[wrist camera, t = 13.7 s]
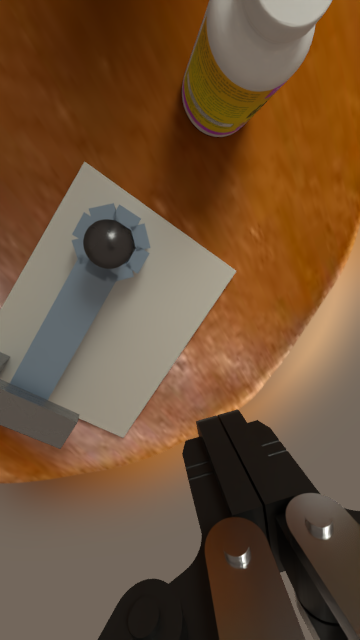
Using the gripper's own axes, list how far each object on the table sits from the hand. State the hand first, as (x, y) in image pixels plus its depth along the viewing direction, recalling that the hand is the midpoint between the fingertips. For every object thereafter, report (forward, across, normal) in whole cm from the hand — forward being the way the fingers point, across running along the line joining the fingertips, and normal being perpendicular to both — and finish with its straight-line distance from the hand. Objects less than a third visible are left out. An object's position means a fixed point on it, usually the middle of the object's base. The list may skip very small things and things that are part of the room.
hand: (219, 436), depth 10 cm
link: (+20, +7, -2) cm, 21 cm away
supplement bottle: (+21, -9, -18) cm, 29 cm away
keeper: (+21, +14, +4) cm, 26 cm away
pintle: (+21, +3, -7) cm, 22 cm away
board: (+21, +5, 0) cm, 22 cm away
